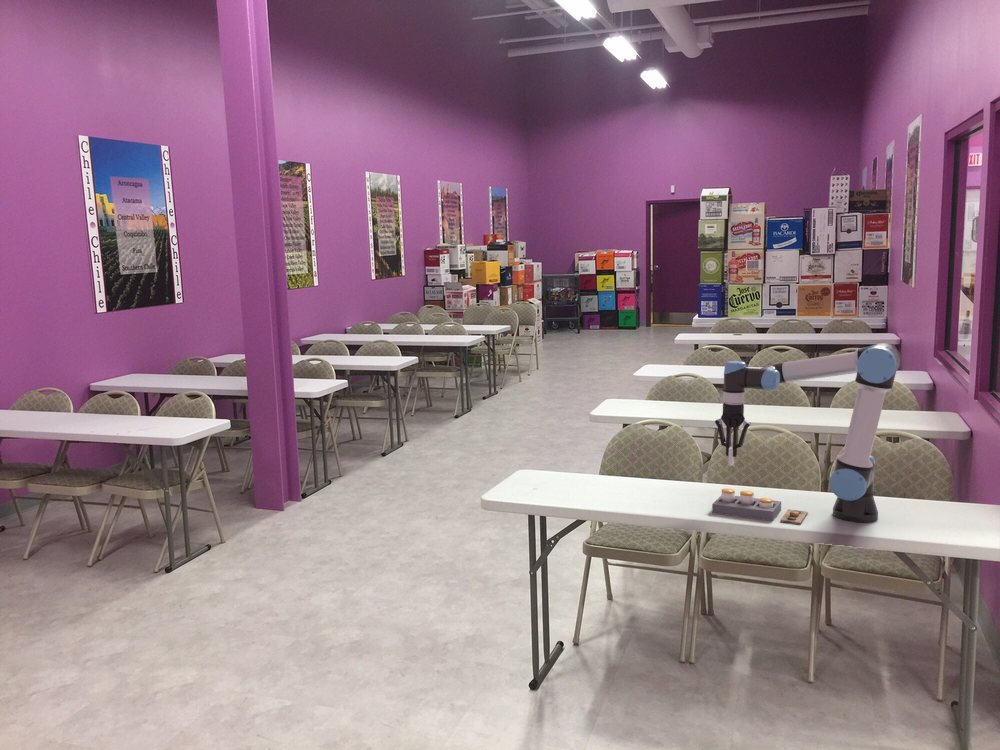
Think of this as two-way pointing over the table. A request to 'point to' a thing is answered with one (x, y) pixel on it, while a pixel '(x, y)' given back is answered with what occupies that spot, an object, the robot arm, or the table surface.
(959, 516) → the table surface
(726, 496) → the button
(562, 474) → the table surface
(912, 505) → the table surface
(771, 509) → the button board
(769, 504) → the button
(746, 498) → the button mid
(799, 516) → the card
